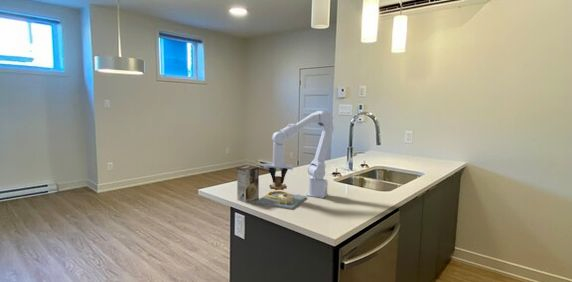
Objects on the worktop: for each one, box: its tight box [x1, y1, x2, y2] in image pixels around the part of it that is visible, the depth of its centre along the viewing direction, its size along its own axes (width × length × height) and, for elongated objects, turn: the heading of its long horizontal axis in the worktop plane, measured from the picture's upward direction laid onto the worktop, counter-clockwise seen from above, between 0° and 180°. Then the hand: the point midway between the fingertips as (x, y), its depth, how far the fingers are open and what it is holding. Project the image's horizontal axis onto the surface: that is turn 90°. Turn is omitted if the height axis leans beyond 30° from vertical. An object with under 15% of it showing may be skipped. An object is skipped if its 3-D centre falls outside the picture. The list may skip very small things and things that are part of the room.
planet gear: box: [269, 175, 287, 191], centre depth 157 cm, size 9×9×6 cm
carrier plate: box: [254, 190, 307, 210], centre depth 153 cm, size 19×19×5 cm
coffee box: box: [236, 164, 260, 203], centre depth 154 cm, size 9×6×16 cm
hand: (278, 182), depth 157 cm, fingers closed on planet gear, 4 cm apart
